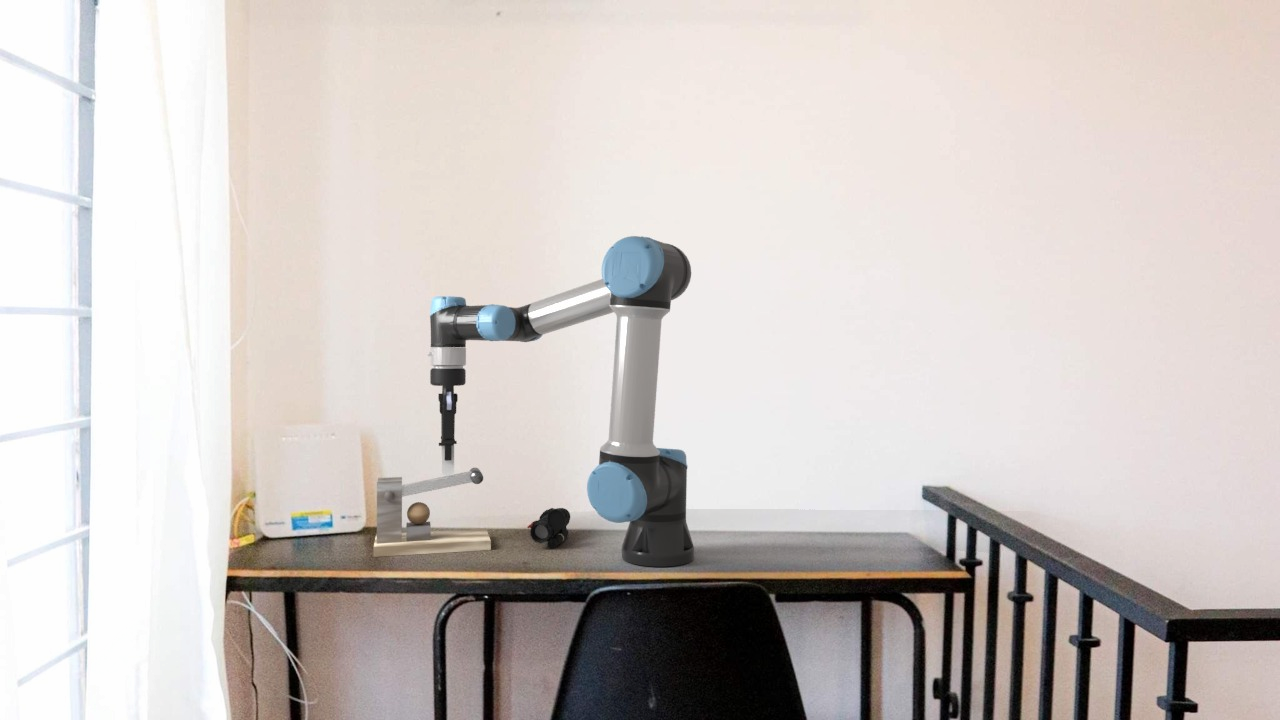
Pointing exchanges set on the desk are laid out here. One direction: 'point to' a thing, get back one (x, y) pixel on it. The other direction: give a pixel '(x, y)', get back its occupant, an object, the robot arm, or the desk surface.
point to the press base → (437, 543)
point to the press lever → (443, 482)
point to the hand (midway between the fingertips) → (447, 474)
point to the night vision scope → (551, 527)
